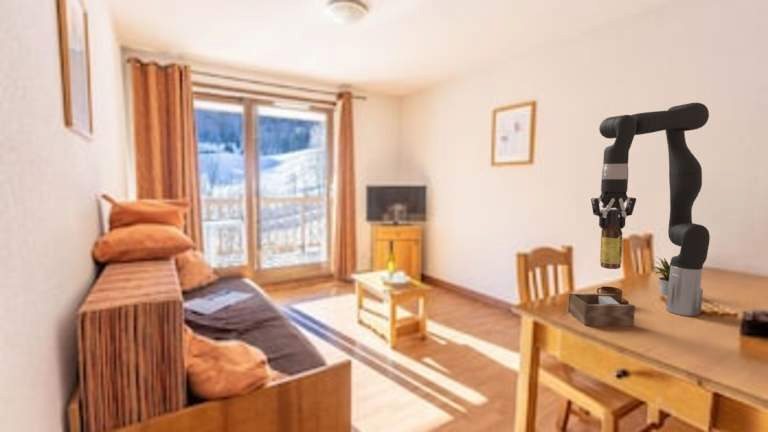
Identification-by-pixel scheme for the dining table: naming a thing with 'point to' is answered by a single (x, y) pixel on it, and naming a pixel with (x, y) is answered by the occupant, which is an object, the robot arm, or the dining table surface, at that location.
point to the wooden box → (600, 311)
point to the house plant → (664, 280)
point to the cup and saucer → (613, 291)
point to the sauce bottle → (611, 241)
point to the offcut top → (607, 301)
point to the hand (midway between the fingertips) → (611, 228)
